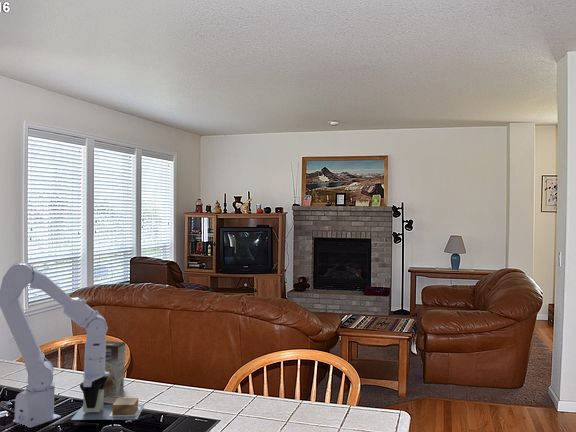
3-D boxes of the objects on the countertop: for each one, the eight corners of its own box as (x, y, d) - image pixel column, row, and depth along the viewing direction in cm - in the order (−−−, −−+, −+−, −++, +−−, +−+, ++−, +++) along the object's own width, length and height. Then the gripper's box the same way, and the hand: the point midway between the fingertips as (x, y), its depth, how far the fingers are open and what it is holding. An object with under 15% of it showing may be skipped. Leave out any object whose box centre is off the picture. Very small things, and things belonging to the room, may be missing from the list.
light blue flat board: (70, 421, 144) (70, 419, 144) (83, 406, 156) (83, 404, 156) (136, 420, 146) (137, 418, 146) (145, 405, 158) (145, 404, 158)
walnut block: (112, 415, 148) (112, 404, 148) (117, 408, 154) (117, 397, 154) (133, 415, 149) (134, 404, 149) (138, 407, 155) (138, 397, 155)
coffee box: (88, 395, 166) (90, 344, 166) (98, 389, 173) (99, 340, 173) (116, 396, 165) (117, 346, 166) (124, 390, 172) (126, 341, 172)
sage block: (82, 412, 148) (83, 394, 148) (87, 406, 153) (88, 389, 153) (99, 412, 149) (99, 394, 149) (103, 406, 153) (104, 389, 153)
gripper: (102, 364, 144) (100, 413, 144) (115, 351, 158) (113, 396, 158) (76, 364, 143) (74, 413, 143) (91, 351, 158) (90, 396, 158)
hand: (93, 404), depth 151 cm, fingers closed on sage block, 4 cm apart
